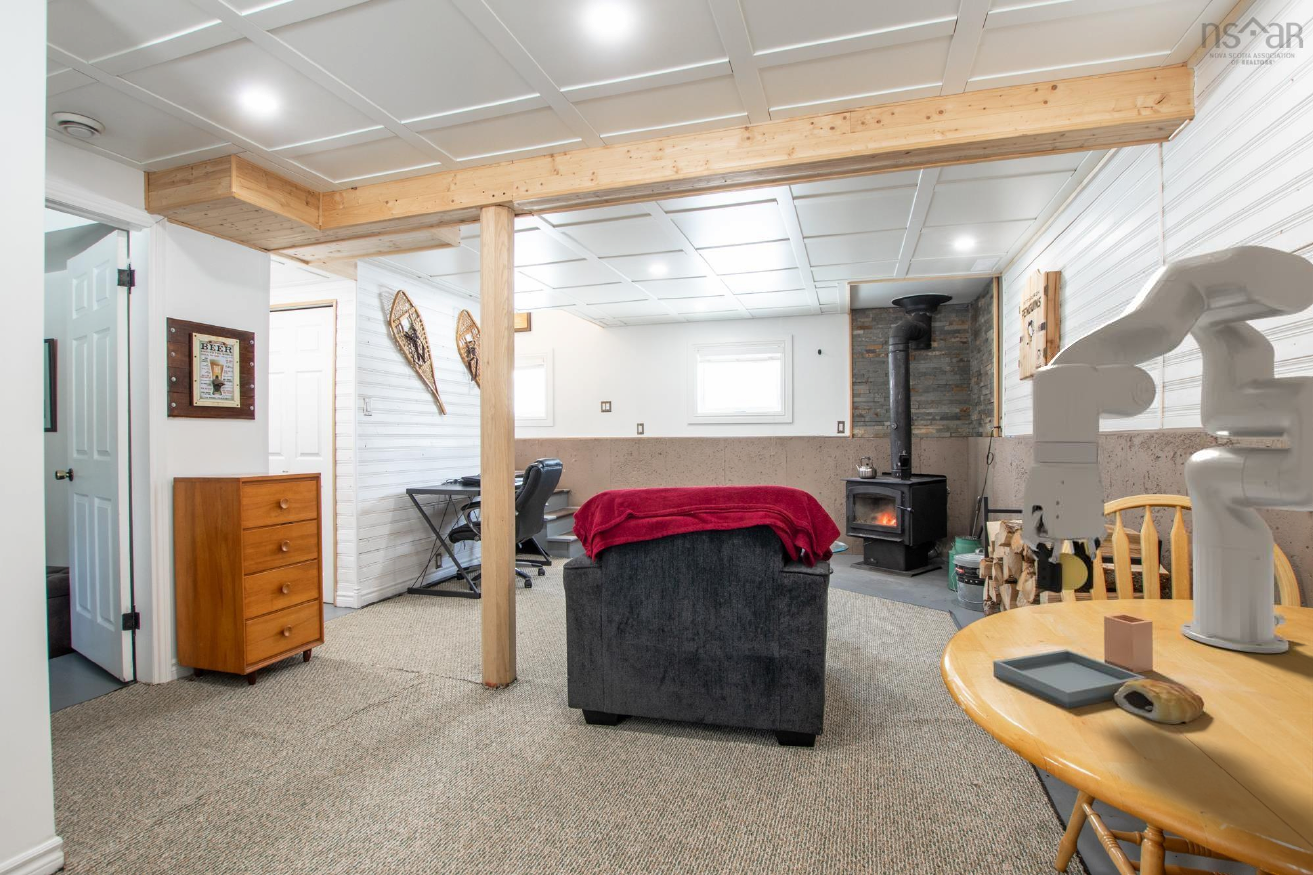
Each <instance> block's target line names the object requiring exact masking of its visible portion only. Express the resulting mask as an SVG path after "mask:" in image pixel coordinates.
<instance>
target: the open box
mask: <svg viewBox="0 0 1313 875" xmlns="http://www.w3.org/2000/svg"><path fill="white" fill-rule="evenodd" d="M1103 629H1104V630H1103V631H1104V632H1103V635H1104V636H1103V637H1104V638H1103V639H1104V640H1103V644H1104V646H1103V647H1104V648H1103V649H1104V654H1103V655H1104V659H1103V660H1104V663H1107V664H1109V665H1112V666H1115V667H1118V668H1121V669H1124V670H1126V671H1129V672H1132V673H1135V674H1137V673H1143V672H1148V671H1153V670H1154V667H1153V665H1154V661H1153V660H1154V655H1153V654H1154V653H1153V652H1154V650H1153V644H1154V643H1153V641H1154V639H1153V621H1152V620H1149V619H1145V618H1142V617H1138V616H1135V615H1131V614H1127V613H1118V614H1117V613H1116V614H1112V615H1105V616H1103Z"/></svg>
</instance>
